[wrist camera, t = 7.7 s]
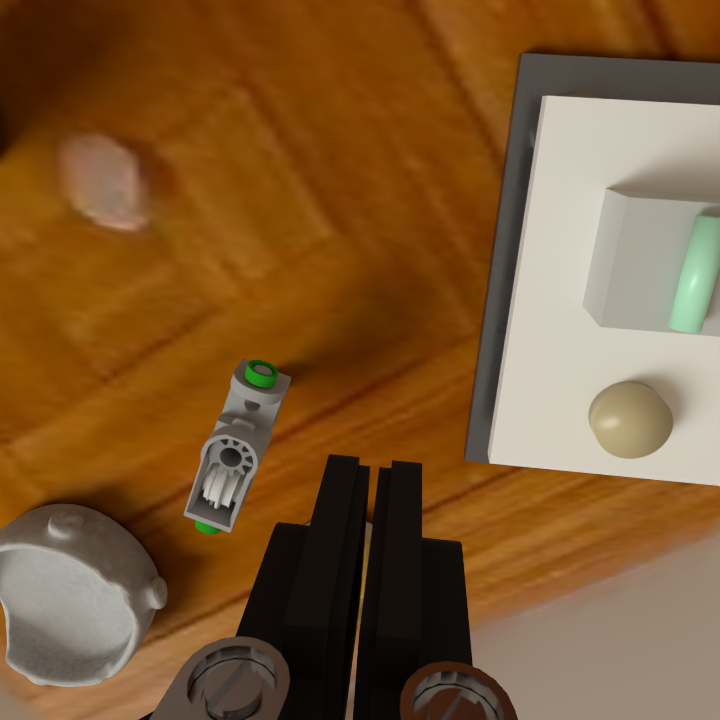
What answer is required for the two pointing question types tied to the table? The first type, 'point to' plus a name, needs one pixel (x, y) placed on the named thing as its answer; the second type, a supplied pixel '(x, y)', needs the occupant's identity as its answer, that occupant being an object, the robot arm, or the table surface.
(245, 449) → the mechanical component
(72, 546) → the dish
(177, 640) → the table surface
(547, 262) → the levelling plate
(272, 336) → the table surface
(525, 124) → the dark grey rectangular slab
